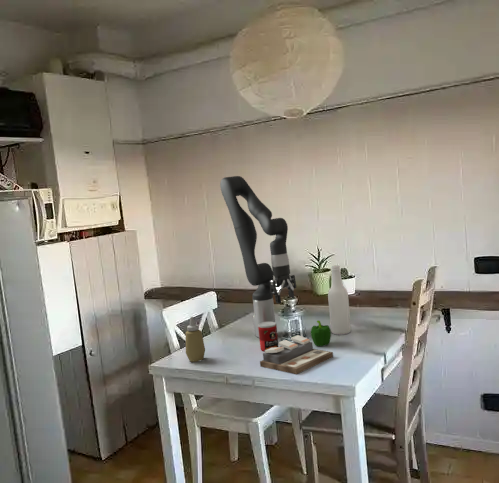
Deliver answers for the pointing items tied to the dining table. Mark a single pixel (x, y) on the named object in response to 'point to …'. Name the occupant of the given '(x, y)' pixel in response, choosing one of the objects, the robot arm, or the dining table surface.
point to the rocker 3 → (300, 339)
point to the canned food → (268, 335)
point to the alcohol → (338, 304)
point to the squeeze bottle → (194, 342)
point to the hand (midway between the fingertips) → (285, 301)
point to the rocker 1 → (274, 350)
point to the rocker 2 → (288, 344)
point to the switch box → (295, 358)
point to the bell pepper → (321, 334)
